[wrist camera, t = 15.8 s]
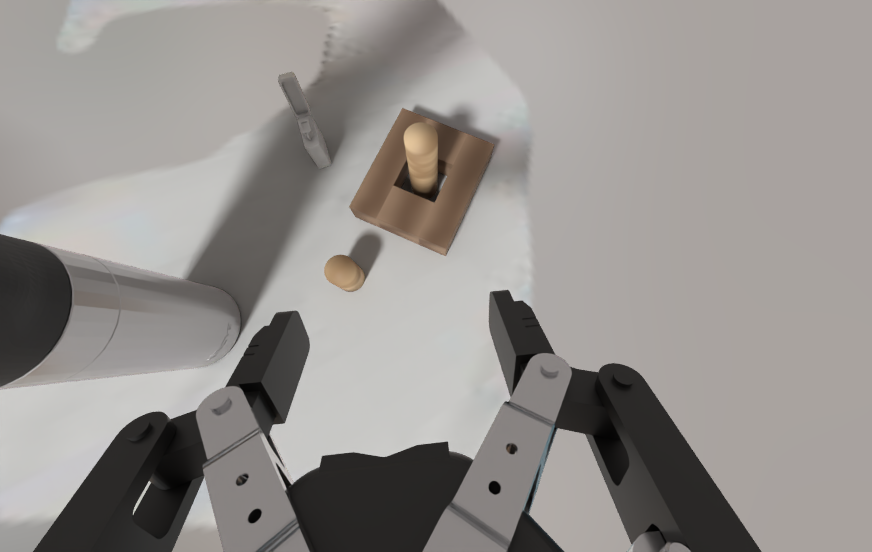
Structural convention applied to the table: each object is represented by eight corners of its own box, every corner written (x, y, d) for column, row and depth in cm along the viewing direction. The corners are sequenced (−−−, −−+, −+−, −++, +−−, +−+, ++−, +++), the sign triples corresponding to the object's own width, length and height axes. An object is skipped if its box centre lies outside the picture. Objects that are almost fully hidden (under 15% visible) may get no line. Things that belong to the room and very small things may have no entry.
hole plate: (355, 216, 39) (349, 206, 36) (404, 124, 42) (402, 108, 39) (445, 256, 38) (446, 248, 35) (490, 158, 41) (494, 144, 38)
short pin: (332, 284, 37) (318, 277, 33) (345, 260, 38) (333, 250, 34) (357, 296, 37) (346, 289, 33) (369, 271, 38) (360, 262, 33)
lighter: (332, 165, 40) (306, 122, 33) (318, 169, 40) (290, 127, 33) (318, 118, 42) (290, 66, 34) (305, 122, 42) (274, 71, 34)
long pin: (407, 193, 40) (398, 144, 30) (418, 172, 40) (412, 117, 30) (430, 203, 39) (429, 157, 30) (441, 181, 40) (443, 129, 30)
